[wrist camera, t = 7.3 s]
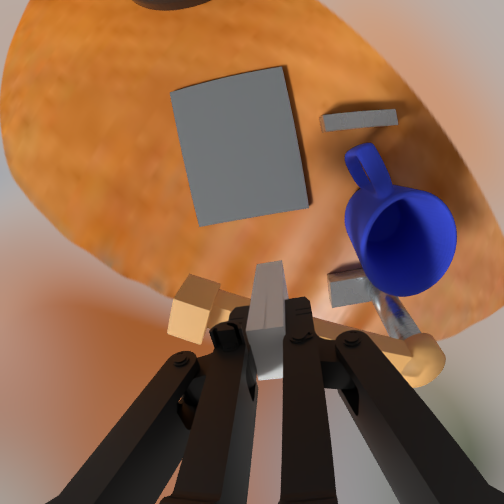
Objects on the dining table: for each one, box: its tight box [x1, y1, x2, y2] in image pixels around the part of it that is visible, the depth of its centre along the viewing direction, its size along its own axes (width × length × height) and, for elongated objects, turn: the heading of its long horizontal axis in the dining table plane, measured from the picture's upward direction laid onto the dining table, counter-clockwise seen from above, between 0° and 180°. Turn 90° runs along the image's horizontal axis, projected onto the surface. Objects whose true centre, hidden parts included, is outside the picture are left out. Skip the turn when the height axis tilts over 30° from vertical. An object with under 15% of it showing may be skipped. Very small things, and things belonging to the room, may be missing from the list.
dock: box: [319, 109, 421, 340], centre depth 23 cm, size 19×10×12 cm, turn 11°
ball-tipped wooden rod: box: [167, 274, 446, 388], centre depth 17 cm, size 19×4×3 cm, turn 73°
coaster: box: [170, 67, 309, 227], centre depth 28 cm, size 14×11×1 cm
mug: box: [345, 143, 457, 297], centre depth 24 cm, size 8×12×10 cm
